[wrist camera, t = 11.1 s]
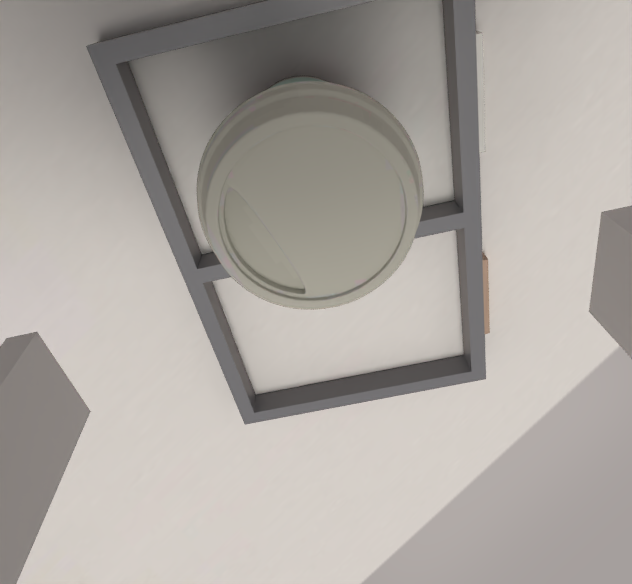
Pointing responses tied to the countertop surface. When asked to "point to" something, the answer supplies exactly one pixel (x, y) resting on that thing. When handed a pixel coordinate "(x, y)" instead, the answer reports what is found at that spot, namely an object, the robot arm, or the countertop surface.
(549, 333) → the countertop surface
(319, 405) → the divided tray
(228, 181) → the coffee cup
